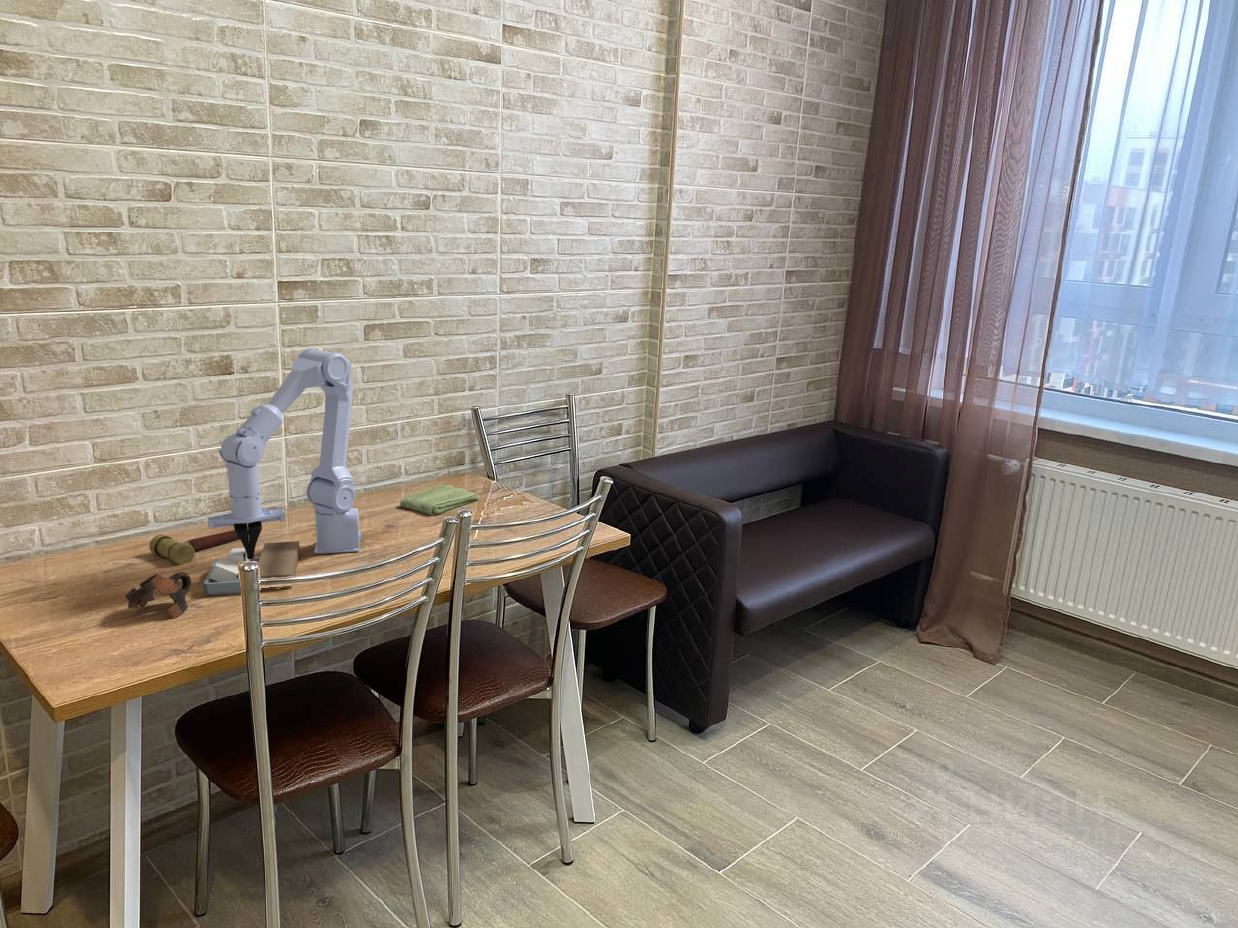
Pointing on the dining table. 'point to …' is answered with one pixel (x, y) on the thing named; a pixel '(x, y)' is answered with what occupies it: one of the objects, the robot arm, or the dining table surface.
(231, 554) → the tile
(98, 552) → the dining table surface
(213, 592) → the tray
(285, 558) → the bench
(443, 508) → the washcloth
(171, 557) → the gavel
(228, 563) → the white squarish block
